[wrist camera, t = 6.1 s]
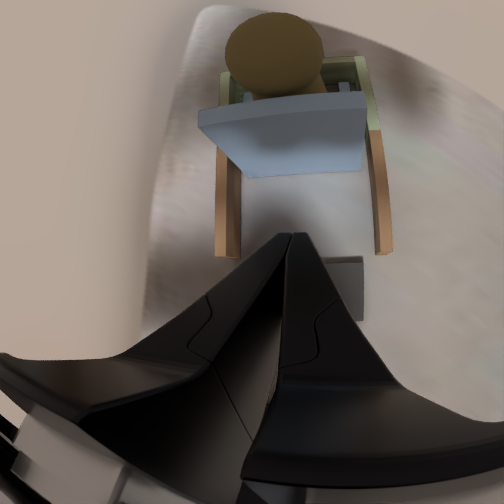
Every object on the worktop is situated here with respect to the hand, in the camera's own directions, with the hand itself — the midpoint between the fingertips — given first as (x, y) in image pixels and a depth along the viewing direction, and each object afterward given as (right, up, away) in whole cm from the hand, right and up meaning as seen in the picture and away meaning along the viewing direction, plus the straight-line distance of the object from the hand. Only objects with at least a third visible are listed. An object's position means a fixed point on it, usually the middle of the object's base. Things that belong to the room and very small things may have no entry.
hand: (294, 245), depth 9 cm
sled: (+3, +9, +14) cm, 17 cm away
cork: (+3, +10, +14) cm, 17 cm away
